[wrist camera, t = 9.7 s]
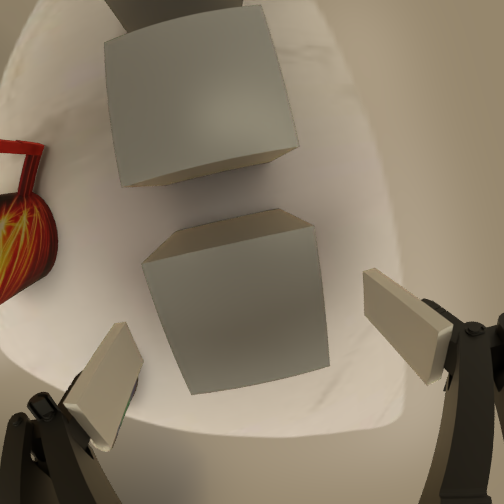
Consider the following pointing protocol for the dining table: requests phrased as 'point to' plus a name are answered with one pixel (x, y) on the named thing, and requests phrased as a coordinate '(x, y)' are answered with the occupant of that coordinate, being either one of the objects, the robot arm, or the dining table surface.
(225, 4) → the pale grey cube
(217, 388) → the large plain grey block
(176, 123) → the pale gray cube
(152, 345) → the dining table surface
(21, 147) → the mug
